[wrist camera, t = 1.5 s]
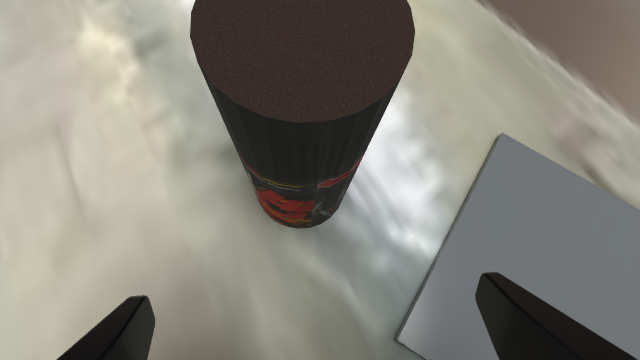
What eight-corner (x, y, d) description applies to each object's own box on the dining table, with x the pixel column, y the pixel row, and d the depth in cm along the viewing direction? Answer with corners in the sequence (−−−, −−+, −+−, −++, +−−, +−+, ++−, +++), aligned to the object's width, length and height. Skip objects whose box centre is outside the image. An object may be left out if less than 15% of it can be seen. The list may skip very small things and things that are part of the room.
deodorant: (362, 188, 24) (459, 35, 9) (296, 247, 22) (291, 171, 8) (305, 128, 25) (314, -92, 10) (238, 180, 23) (143, 8, 9)
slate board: (647, 507, 19) (658, 513, 19) (394, 338, 21) (397, 340, 20) (710, 256, 24) (720, 255, 23) (497, 136, 25) (502, 132, 25)
